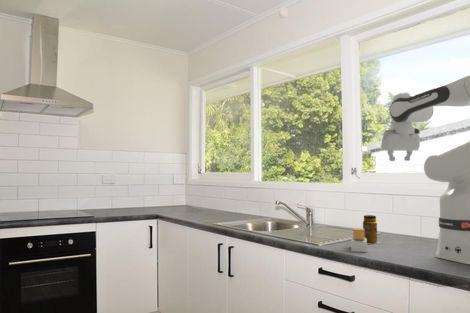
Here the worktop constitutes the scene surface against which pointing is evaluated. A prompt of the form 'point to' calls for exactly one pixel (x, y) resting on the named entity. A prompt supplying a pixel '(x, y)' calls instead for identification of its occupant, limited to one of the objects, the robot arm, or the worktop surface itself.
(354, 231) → the orange wooden cube
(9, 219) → the worktop surface
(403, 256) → the worktop surface
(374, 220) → the condiment
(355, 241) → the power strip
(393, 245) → the worktop surface
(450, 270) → the worktop surface
